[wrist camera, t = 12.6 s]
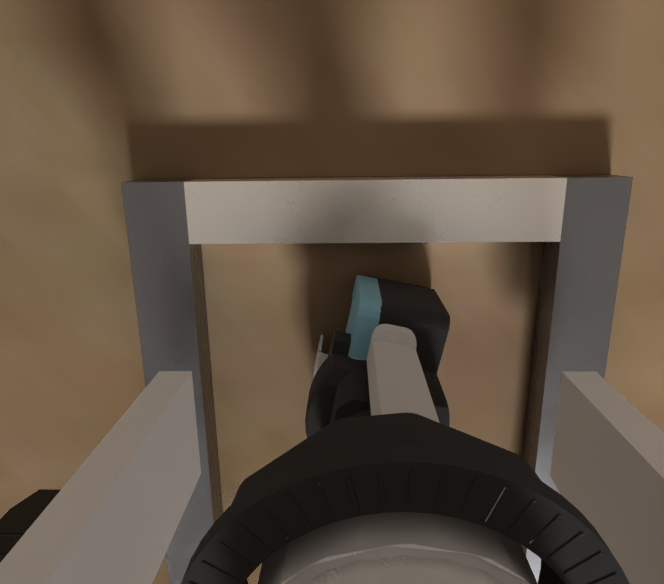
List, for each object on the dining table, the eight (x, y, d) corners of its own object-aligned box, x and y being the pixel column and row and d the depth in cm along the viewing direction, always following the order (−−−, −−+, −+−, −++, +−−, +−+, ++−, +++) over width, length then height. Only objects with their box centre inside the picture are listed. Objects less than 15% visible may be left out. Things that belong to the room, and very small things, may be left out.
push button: (428, 494, 16) (554, 1047, 6) (254, 461, 16) (101, 972, 6) (489, 285, 14) (806, 601, 4) (293, 246, 14) (163, 480, 4)
